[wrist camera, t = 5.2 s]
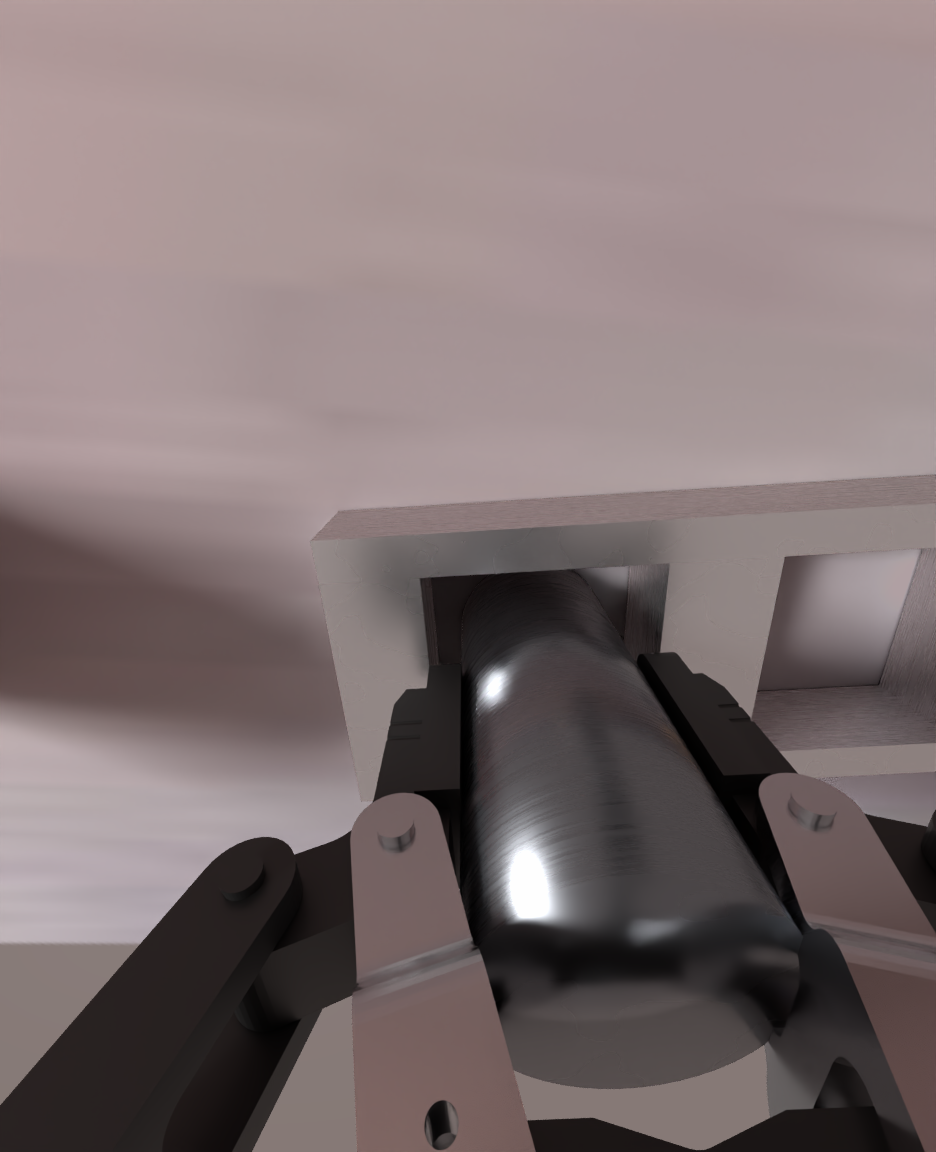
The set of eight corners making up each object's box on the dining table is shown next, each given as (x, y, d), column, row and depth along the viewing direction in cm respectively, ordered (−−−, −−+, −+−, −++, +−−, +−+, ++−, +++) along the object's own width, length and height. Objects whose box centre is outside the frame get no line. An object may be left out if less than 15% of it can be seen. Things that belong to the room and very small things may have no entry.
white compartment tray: (376, 737, 15) (359, 810, 13) (338, 511, 12) (305, 545, 10) (1200, 693, 15) (1355, 759, 12) (1356, 449, 12) (1601, 468, 9)
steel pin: (504, 535, 13) (580, 830, 4) (626, 597, 13) (892, 951, 5) (438, 650, 14) (401, 1043, 6) (553, 701, 15) (668, 1114, 6)
